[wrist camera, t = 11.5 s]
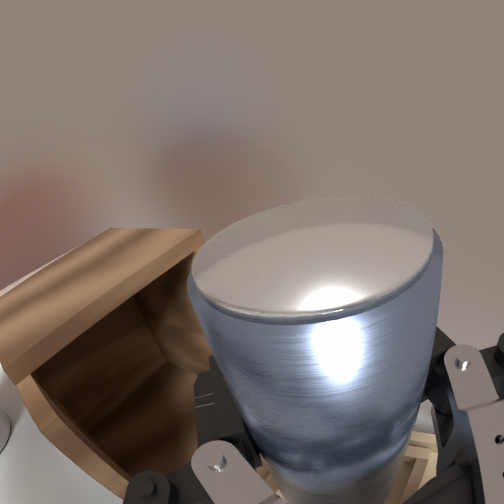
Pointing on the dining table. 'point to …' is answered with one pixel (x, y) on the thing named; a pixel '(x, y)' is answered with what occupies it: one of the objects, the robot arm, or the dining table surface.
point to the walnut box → (111, 352)
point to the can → (324, 337)
